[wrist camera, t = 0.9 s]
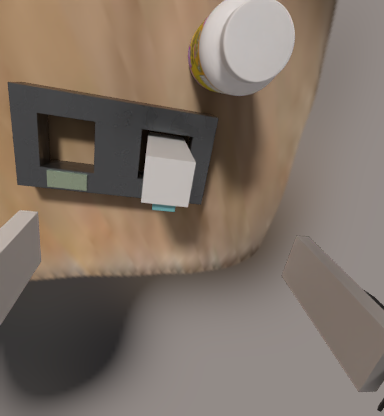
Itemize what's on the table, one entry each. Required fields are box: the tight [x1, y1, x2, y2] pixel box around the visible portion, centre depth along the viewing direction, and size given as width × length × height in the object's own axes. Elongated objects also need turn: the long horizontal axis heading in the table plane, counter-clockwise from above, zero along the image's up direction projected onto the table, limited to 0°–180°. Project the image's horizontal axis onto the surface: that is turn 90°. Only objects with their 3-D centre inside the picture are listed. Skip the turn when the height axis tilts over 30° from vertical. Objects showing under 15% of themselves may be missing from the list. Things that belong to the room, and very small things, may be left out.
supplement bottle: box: [188, 0, 295, 96], centre depth 23 cm, size 7×7×13 cm
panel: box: [8, 82, 218, 204], centre depth 30 cm, size 10×20×3 cm, turn 80°
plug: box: [141, 132, 196, 212], centre depth 27 cm, size 5×4×11 cm
